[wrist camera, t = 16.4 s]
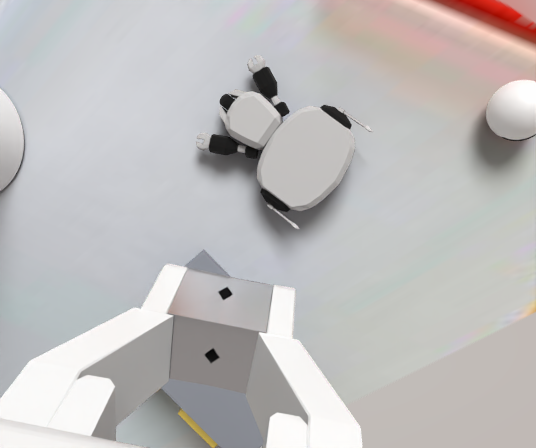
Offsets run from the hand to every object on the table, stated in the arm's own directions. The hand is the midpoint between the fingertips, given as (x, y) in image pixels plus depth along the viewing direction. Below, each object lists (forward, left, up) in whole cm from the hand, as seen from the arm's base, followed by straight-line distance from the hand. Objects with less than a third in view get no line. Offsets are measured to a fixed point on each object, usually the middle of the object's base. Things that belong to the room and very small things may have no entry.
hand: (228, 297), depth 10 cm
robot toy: (-1, +5, -38) cm, 38 cm away
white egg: (+23, +8, -38) cm, 45 cm away
